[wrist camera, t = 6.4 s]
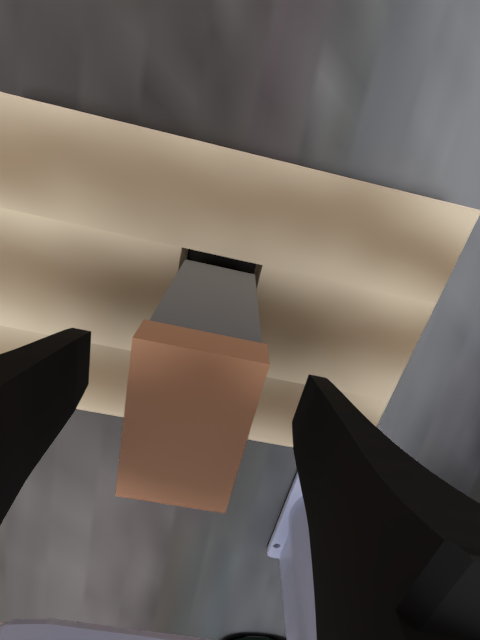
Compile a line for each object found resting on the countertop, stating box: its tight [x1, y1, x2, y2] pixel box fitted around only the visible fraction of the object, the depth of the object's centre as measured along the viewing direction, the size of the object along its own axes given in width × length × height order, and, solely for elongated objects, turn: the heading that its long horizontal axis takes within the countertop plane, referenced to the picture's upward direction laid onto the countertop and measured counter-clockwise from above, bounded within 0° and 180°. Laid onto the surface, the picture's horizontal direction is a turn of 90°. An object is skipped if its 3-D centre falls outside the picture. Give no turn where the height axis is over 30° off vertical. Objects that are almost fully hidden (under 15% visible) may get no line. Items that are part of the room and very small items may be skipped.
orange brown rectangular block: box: [115, 259, 270, 513], centre depth 12 cm, size 5×3×7 cm, turn 167°
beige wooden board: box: [0, 92, 480, 447], centre depth 18 cm, size 14×20×3 cm
